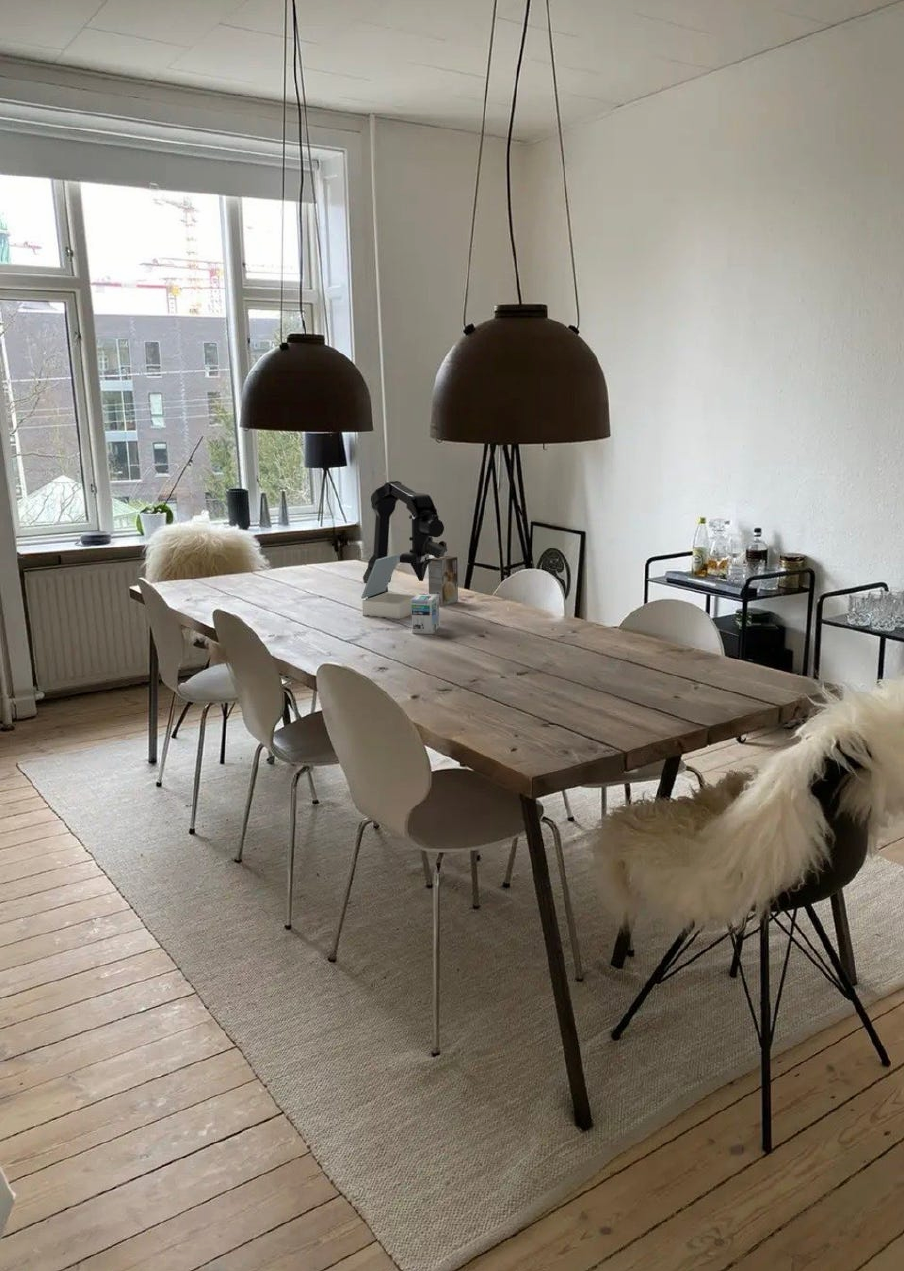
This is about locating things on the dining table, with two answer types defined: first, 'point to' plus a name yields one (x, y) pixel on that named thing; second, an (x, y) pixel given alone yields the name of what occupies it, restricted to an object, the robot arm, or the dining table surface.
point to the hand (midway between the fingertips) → (421, 580)
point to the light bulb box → (425, 613)
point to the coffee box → (444, 579)
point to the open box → (388, 605)
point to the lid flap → (380, 575)
